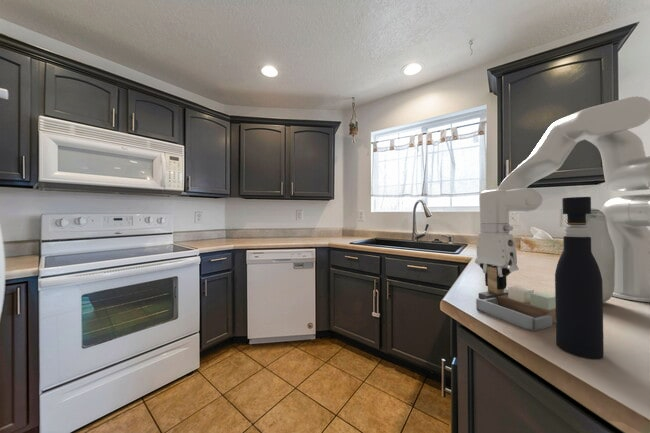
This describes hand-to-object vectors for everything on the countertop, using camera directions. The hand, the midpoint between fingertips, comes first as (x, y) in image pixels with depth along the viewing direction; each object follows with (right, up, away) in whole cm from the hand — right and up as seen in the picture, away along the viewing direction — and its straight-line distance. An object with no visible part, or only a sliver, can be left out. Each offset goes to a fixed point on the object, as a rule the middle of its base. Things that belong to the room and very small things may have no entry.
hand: (495, 286), depth 76 cm
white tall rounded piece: (+25, -3, -4) cm, 25 cm away
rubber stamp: (0, -4, 0) cm, 4 cm away
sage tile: (+2, -1, -15) cm, 15 cm away
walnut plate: (+4, -4, -10) cm, 12 cm away
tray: (-5, -4, -13) cm, 15 cm away
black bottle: (-4, -4, -29) cm, 29 cm away
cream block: (0, -1, -9) cm, 9 cm away
